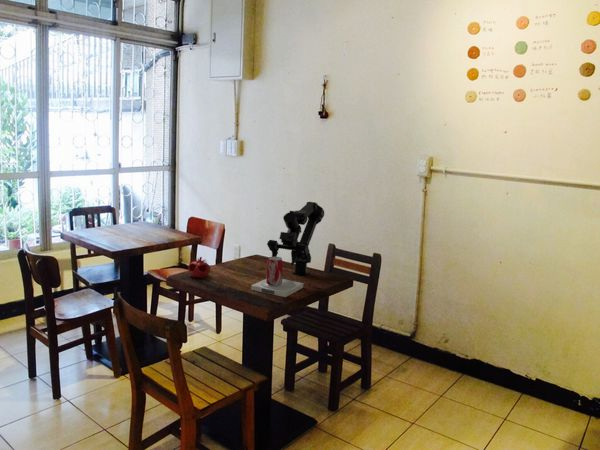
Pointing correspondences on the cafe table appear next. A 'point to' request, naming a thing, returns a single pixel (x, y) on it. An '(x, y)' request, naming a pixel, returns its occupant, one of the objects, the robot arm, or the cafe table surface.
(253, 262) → the cafe table surface
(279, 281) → the soda can
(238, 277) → the cafe table surface
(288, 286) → the scale
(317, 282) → the cafe table surface
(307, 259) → the robot arm
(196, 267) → the pomegranate
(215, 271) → the cafe table surface
